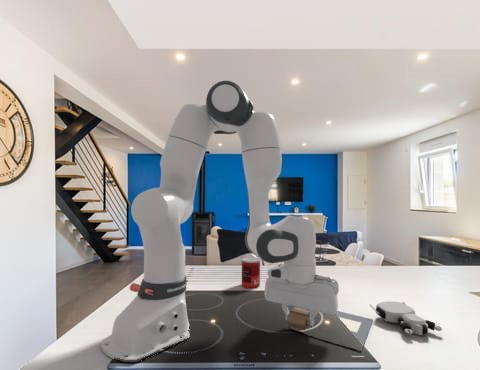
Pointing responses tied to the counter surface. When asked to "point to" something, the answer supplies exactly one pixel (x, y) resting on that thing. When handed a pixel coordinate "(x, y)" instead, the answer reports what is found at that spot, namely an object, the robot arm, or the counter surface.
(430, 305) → the counter surface
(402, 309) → the robot toy
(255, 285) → the canned food
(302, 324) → the walnut block
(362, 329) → the mat
